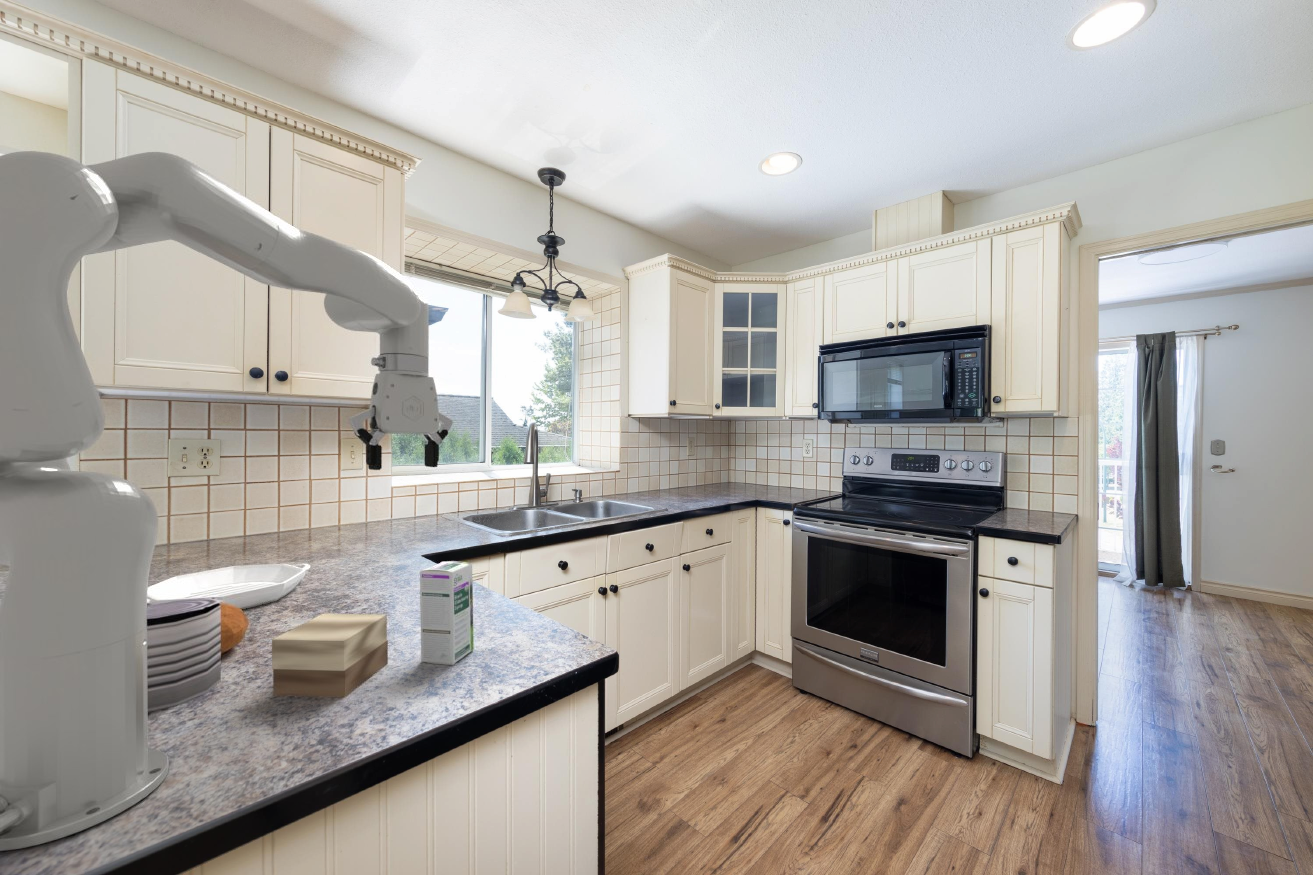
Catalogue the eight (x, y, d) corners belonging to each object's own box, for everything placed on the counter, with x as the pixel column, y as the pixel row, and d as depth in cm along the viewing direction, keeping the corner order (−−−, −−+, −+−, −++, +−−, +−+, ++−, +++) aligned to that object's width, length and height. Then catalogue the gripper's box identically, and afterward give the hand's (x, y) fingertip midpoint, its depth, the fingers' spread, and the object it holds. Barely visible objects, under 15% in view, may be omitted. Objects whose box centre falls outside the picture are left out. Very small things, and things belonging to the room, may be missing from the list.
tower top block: (344, 670, 69) (343, 640, 69) (272, 668, 69) (271, 639, 69) (386, 640, 79) (386, 614, 79) (323, 639, 79) (323, 613, 79)
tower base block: (345, 700, 69) (345, 670, 69) (273, 698, 69) (273, 668, 69) (387, 666, 79) (387, 640, 79) (324, 664, 79) (324, 638, 79)
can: (80, 721, 63) (79, 623, 63) (143, 678, 74) (143, 595, 74) (193, 707, 66) (192, 615, 66) (237, 668, 77) (237, 588, 77)
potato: (243, 635, 89) (243, 592, 89) (254, 655, 81) (254, 608, 81) (170, 651, 83) (170, 605, 83) (174, 674, 75) (174, 623, 75)
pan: (148, 636, 89) (148, 611, 89) (106, 609, 102) (106, 587, 102) (337, 590, 116) (337, 571, 116) (283, 573, 129) (283, 556, 129)
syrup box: (453, 666, 78) (453, 571, 78) (419, 662, 79) (419, 568, 79) (474, 650, 84) (474, 561, 83) (441, 647, 85) (441, 559, 85)
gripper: (360, 360, 78) (360, 472, 78) (462, 371, 92) (462, 466, 92) (339, 363, 83) (339, 469, 83) (439, 374, 97) (439, 465, 97)
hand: (404, 468), depth 88 cm, fingers open, 9 cm apart
